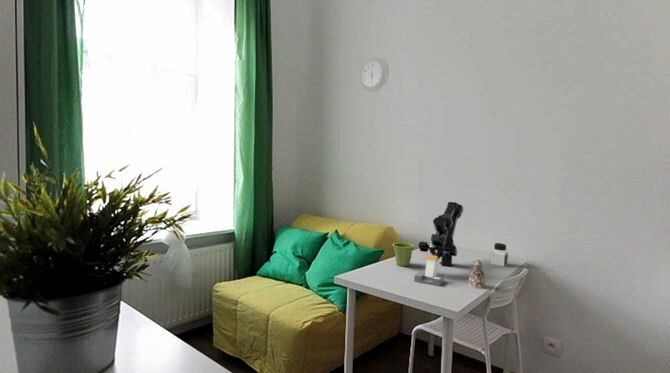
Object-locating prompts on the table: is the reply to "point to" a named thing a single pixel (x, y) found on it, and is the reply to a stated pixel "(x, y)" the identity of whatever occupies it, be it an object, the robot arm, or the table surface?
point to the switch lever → (430, 265)
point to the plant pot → (403, 253)
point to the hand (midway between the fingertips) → (433, 262)
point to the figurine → (477, 276)
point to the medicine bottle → (499, 255)
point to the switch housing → (429, 278)
